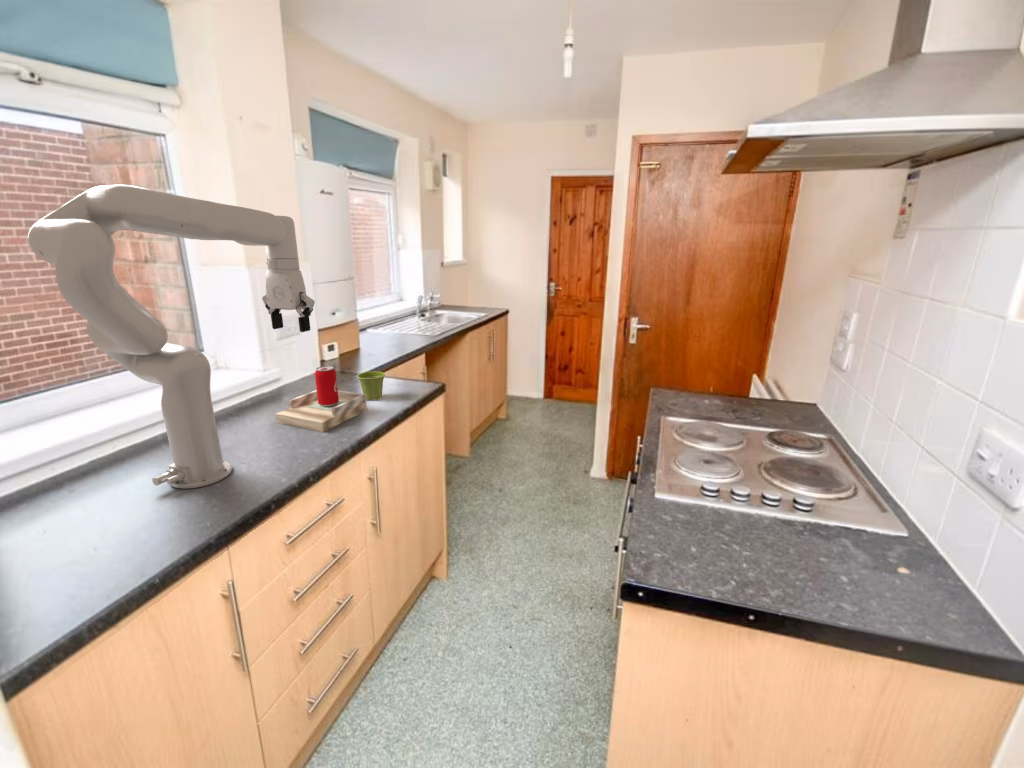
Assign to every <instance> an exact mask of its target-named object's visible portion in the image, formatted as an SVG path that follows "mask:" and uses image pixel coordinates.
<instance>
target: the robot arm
mask: <svg viewBox="0 0 1024 768" xmlns="http://www.w3.org/2000/svg"><path fill="white" fill-rule="evenodd" d="M118 231H131V232H140V233H147V234H153V235H154V234H155V235H161V236H166V237H167V236H168V237H176V238H180V239H181V238H183V239H189V240H198V241H199V240H200V241H234V242H235V243H237V244H240V245H243V246H252V247H253V246H254V247H255V246H256V247H257V246H262V247H263V246H264V247H265V248H264V249H265V256H266V265H267V270H266V271H265V272H266V273H265V295H264V296H262V299H261V300H262V301H263V304H264V306H265V308H266V310H267V312H268V314H269V315H270V319H271V326H272V329H273V330H277V329H282V328H284V322H283V321H284V320H283V315H282V314H283V313H282V312H281V311H282V310H286V311H293V310H295V311H296V313H297V314H298V315H299V316H298V318H297V319H298V326H299V332H301V333H305V332H309V331H311V323H310V322H311V320H310V317H311V315H312V312H313V310H314V306H315V300H314V299H312V298H311V297H310V296H308V295H307V291H306V284H305V280H304V277H303V274H302V271H301V270H300V262H299V254H298V245H297V243H298V242H297V235H296V227H295V221H294V219H293V218H292V217H290V216H288V215H275V214H274V213H273V214H272V213H271V212H266V211H263V210H258V209H254V208H248V207H244V206H243V207H242V206H237V205H233V204H232V205H231V204H226V203H225V204H224V203H219V202H214V201H210V200H204V199H199V198H198V199H197V198H191V197H187V196H181V195H178V194H172V193H169V192H164V191H157V190H155V189H150V188H149V189H148V188H146V187H141V186H136V185H130V184H129V185H128V184H111V185H97V186H94V187H91V188H89V189H87V190H85V191H84V192H82V193H81V194H78V195H77V196H75V197H73V199H71V200H69V201H68V202H66V203H64V204H63V205H61V206H60V207H58V208H57V209H55V210H54V211H51V212H49V213H48V214H46V215H45V216H44V217H42V218H40V219H38V221H36V222H35V223H34V224H33V225H32V226H31V227H30V229H29V231H28V235H27V241H28V245H29V247H30V250H31V251H32V252H33V253H34V254H35V255H36V257H38V258H40V259H41V260H42V261H44V262H46V263H49V264H52V265H54V266H55V267H54V269H55V279H56V283H57V287H58V290H59V292H60V295H61V296H62V298H63V299H64V300H65V301H66V303H67V304H68V305H69V306H70V307H71V308H72V309H74V311H76V312H77V313H78V315H80V316H81V317H82V318H83V319H85V321H86V333H87V335H88V338H89V339H90V341H91V342H92V343H93V345H95V346H96V347H97V348H98V349H99V350H101V351H102V352H103V353H104V354H106V355H107V356H109V358H111V359H112V360H113V361H115V362H116V363H118V364H119V365H121V366H122V367H123V368H124V369H126V371H129V372H130V373H131V374H132V375H134V376H136V377H138V378H139V379H141V380H143V381H146V382H148V383H151V384H156V385H160V386H162V387H161V388H162V394H161V402H160V403H161V404H160V405H161V407H160V408H161V413H162V418H163V421H164V426H165V429H166V435H167V440H168V444H169V449H170V453H171V454H170V455H171V457H172V463H171V464H168V468H169V469H168V470H166V471H165V472H164V473H162V474H161V473H160V474H158V475H157V476H154V477H153V478H152V479H151V480H152V483H153V485H154V486H160V485H161V484H164V483H167V485H170V486H171V487H173V488H177V489H194V488H196V489H197V488H203V487H206V486H209V485H212V484H215V483H217V482H220V481H222V480H223V479H225V478H227V477H228V476H229V475H230V474H231V473H232V470H233V467H232V464H231V463H230V462H229V461H227V460H223V454H222V450H221V444H220V438H219V431H218V427H217V423H216V416H215V411H214V407H213V401H212V391H211V375H212V374H211V373H212V371H211V370H212V369H211V364H210V362H209V360H208V358H207V357H206V355H205V354H204V353H203V352H201V351H200V350H198V349H196V348H194V347H191V346H188V345H184V344H179V343H178V344H177V343H170V342H168V341H169V339H168V332H167V328H166V327H165V325H164V324H163V323H162V321H161V320H159V319H158V317H156V316H155V315H154V314H153V313H152V312H150V311H149V310H148V309H147V308H146V307H144V306H143V305H142V304H141V303H140V302H139V301H138V300H137V299H136V298H134V296H132V295H131V294H130V293H129V292H128V291H127V290H126V289H125V288H124V287H123V286H122V285H121V284H120V282H119V281H118V280H117V277H116V276H115V271H114V260H115V256H116V255H115V254H116V245H115V241H114V239H113V237H112V236H113V235H114V234H115V233H116V232H118Z"/></svg>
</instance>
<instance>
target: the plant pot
mask: <svg viewBox="0 0 1024 768" xmlns="http://www.w3.org/2000/svg"><path fill="white" fill-rule="evenodd" d="M385 376H386V373H384V372H383V371H377V370H376V371H373V370H372V371H366V372H365V371H364V372H362V373H358V374H357V376H356V378H357V379H358V381H359V382H360V387H361V390H362V394H365V395H366V401H369V400H372V401H374V400H375V401H379V400H380V398H381V399H382V398H383V389H384V388H383V386H384V379H385ZM378 399H379V400H378Z"/></svg>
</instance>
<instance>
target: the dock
mask: <svg viewBox="0 0 1024 768" xmlns="http://www.w3.org/2000/svg"><path fill="white" fill-rule="evenodd" d="M338 397H339V402H338V403H337V404H336V405H333V406H327V407H325V406H321V405H320V404H318V397H317V389H315V390H312V391H310V392H307V393H305V394H302V395H300V396H296V397H294V398H292V399H290V400H288V407H289V408H286V409H283V410H281V411H279V412H276V413H275V414H274V415H275V422H276V424H280V425H285V426H289V427H294V428H295V427H296V428H300V429H303V430H304V429H305V430H308V431H309V430H311V431H314V432H319V433H320V432H321V433H324V432H326V431H329V430H330V429H332V428H334V427H336V426H338V425H340V424H342V423H344V422H346V421H348V419H349V420H350V418H351V419H352V417H353V418H355V417H356V416H358V415H359V416H360V415H361V414H363V413H365V412H367V411H366V410H368V409H367V408H368V406H367V400H366V395H365V394H363V393H357V392H351V391H346V390H340V389H338ZM364 411H365V412H364ZM354 416H355V417H354Z"/></svg>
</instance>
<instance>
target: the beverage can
mask: <svg viewBox="0 0 1024 768" xmlns="http://www.w3.org/2000/svg"><path fill="white" fill-rule="evenodd" d="M314 379H315V388H316V389H315V390H317V397H318V404H320V405H321V406H325V407H327V406H333V405H336V404H337V403H338V402H339V397H338V390H339V389H338V388H339V387H338V379H337V372H336V370H335V367H334V366H331V365H330V366H329V365H326V366H325V365H324V366H319V367H316V368H315V371H314Z"/></svg>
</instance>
